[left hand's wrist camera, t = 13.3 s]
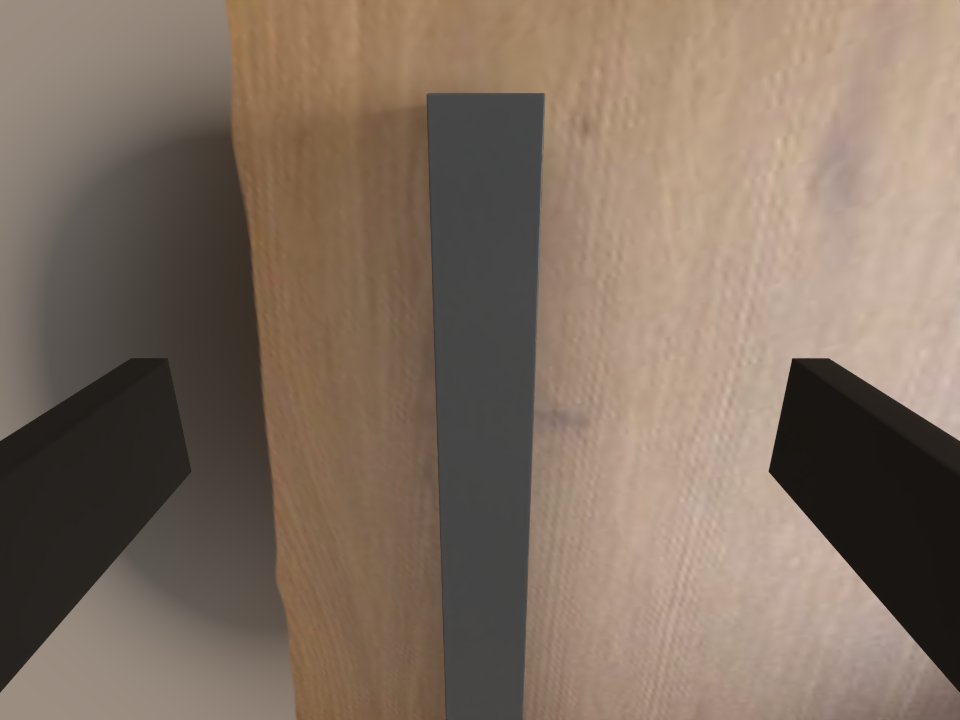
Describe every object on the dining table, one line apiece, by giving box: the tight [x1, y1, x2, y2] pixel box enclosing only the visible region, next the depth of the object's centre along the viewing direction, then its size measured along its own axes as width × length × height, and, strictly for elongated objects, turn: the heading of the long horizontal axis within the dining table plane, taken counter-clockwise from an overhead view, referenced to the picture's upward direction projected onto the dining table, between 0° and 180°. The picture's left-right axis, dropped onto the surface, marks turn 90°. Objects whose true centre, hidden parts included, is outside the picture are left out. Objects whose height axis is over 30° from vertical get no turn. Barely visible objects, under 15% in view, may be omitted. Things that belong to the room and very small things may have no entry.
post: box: [427, 93, 545, 720], centre depth 41 cm, size 67×5×8 cm, turn 0°
